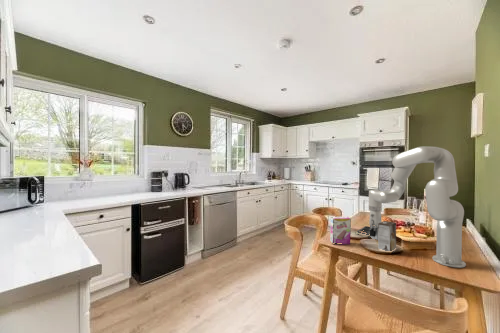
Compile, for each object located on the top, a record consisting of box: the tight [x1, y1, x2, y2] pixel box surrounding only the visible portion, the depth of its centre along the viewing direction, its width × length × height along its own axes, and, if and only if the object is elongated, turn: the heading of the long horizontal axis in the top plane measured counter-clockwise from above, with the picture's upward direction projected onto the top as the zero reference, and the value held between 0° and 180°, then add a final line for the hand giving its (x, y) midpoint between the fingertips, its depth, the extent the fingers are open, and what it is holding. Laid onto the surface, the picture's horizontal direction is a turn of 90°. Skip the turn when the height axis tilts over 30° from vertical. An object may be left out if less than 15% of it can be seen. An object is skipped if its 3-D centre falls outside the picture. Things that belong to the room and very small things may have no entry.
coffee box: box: [377, 220, 397, 251], centre depth 128 cm, size 9×6×16 cm
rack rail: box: [357, 226, 370, 235], centre depth 161 cm, size 20×8×2 cm, turn 135°
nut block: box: [369, 227, 378, 241], centre depth 149 cm, size 4×4×8 cm
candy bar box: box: [329, 216, 352, 245], centre depth 140 cm, size 11×5×16 cm, turn 91°
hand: (374, 234), depth 149 cm, fingers open, 8 cm apart
